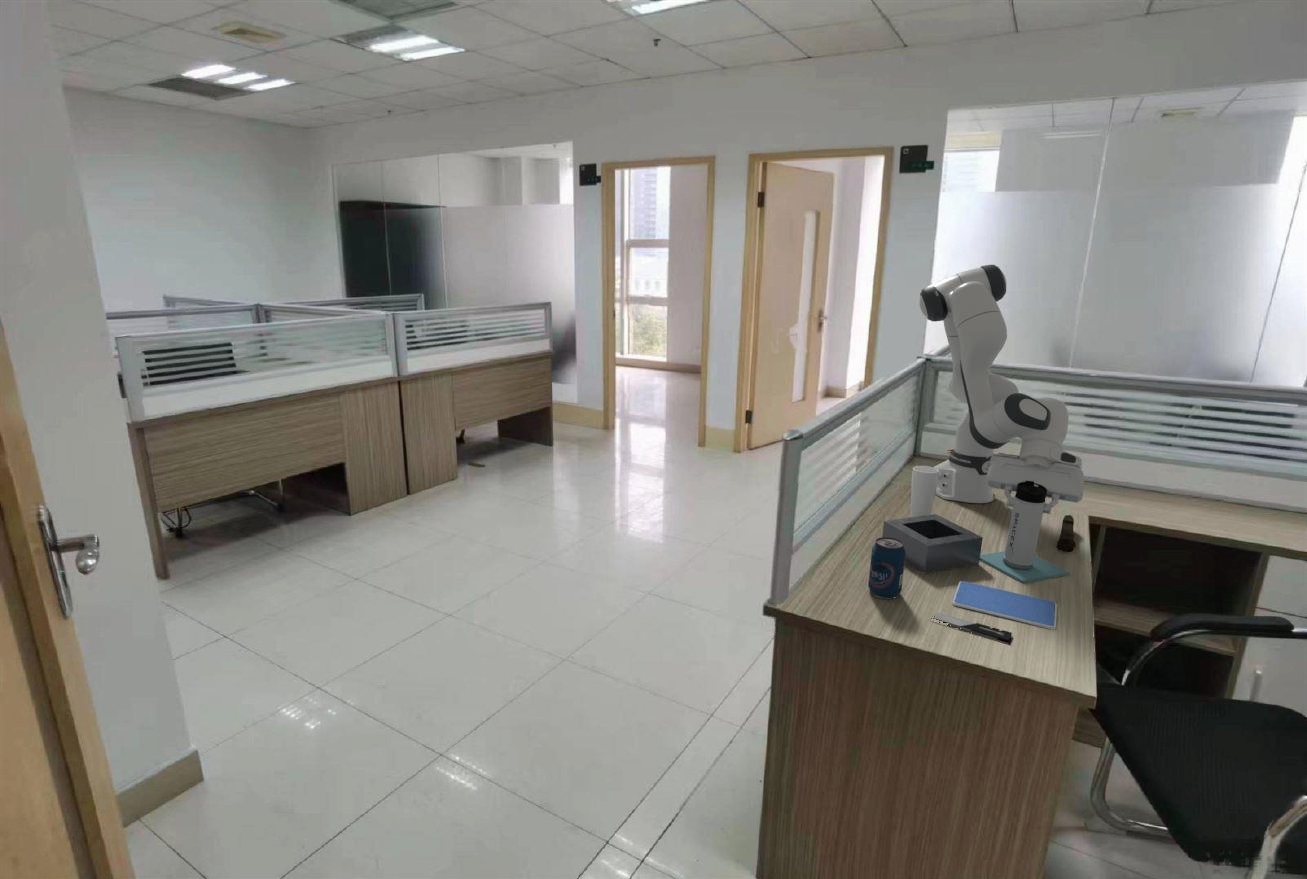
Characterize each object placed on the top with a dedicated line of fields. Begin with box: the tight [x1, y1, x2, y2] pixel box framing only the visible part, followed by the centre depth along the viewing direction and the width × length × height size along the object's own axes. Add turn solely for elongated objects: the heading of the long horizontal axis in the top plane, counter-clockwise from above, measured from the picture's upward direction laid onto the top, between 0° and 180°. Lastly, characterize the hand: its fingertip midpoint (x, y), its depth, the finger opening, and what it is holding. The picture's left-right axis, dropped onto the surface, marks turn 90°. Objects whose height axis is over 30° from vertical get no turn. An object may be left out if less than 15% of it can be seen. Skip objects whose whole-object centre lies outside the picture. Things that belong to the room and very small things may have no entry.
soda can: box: [868, 537, 906, 599], centre depth 148 cm, size 7×7×12 cm
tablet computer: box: [951, 580, 1058, 631], centre depth 145 cm, size 19×13×1 cm, turn 59°
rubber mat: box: [979, 550, 1070, 584], centre depth 163 cm, size 14×14×1 cm
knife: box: [930, 612, 1014, 646], centre depth 136 cm, size 15×1×4 cm
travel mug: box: [1003, 481, 1047, 570], centre depth 160 cm, size 6×7×20 cm
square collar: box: [881, 513, 983, 574], centre depth 168 cm, size 16×16×7 cm
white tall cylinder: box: [909, 465, 939, 518], centre depth 190 cm, size 7×7×15 cm
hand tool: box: [1055, 514, 1077, 553], centre depth 178 cm, size 19×4×5 cm, turn 146°
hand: (1028, 508), depth 159 cm, fingers closed on travel mug, 6 cm apart
